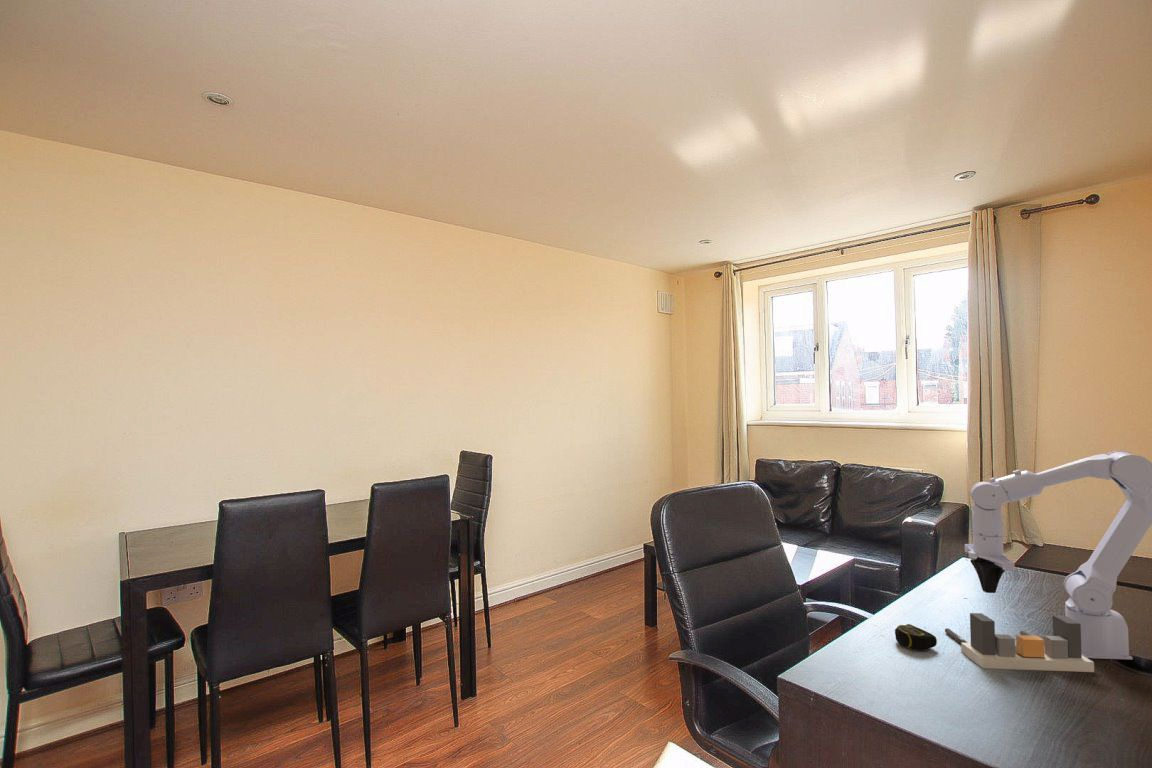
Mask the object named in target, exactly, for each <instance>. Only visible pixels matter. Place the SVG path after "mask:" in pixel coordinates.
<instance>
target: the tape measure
mask: <svg viewBox="0 0 1152 768" xmlns="http://www.w3.org/2000/svg"><path fill="white" fill-rule="evenodd" d="M894 635H895V640H896V642H897V643H898V644H900V645H901V646H903V647H905V648H908V649H911V650H915V651H927V650H929V649H932V648H934V647H936V646H937V645H938V644H937V643H938V642H937V641H938V639H937V636H935V635H934V634H932V633H930V632H928V631H927V630H924V629H921V628H919V627H917V626H915V625H913V624H910V623H908V624H899V625H897V627H896V628H895V629H894Z"/></svg>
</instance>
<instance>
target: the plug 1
mask: <svg viewBox="0 0 1152 768" xmlns="http://www.w3.org/2000/svg"><path fill="white" fill-rule="evenodd" d="M995 622H996V621H995V620H993V619H991V618H990V617H989V616H987V615H985V614H984V613H980V612H979V613H978V612H976V613H975V612H970V613H969V624H970V625H969V626H970V631H969V632H970V643H971V646H972V647H973V648H974V649H976V650H977V651H978V652H980V653H981V654H983V655H995V634H996V623H995Z"/></svg>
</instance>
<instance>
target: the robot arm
mask: <svg viewBox="0 0 1152 768" xmlns="http://www.w3.org/2000/svg"><path fill="white" fill-rule="evenodd" d="M1089 477H1090V478H1096V479H1102V480H1103V479H1104V480H1109V481H1110V480H1112V481H1114V483H1116V485H1118V488H1119V489H1120V490H1121V492H1122V493H1123V495H1124V497H1125V498H1126V500H1125V501H1124V503H1123V505H1122V506H1121V508H1120V509H1119V511H1118V513H1117V514H1116V516H1115V517H1114V519H1113V520H1112V522H1111V524H1109V525H1110V526H1109V527H1108V528H1107V530H1106V531H1105V533H1104V535H1103V536H1102V537H1101V539H1100V540H1099V543H1098V544H1097V546H1096V547H1095V548H1094V550H1093V552H1092V553H1091V555H1090V556H1089V558H1088V560H1087V561H1086V562H1084V563H1082V564H1081V565H1080V566H1078V568H1077V570H1076V571H1074V572H1072V573H1070V574H1068V575H1067V576H1066V577H1065V578H1064V580H1063V587H1064V590H1065V592H1066V593H1067V595H1069V597H1068V599H1067V600H1066V601H1065V602H1064V606H1065V607H1064V608H1065V609H1064V610H1065V616H1067V617H1068V618H1070V619H1072V620H1074V621H1076V622H1078V623H1080V624H1081V652H1082V656H1084V657H1086V658H1088V659H1103V660H1104V659H1105V660H1128V661H1129V660H1131V661H1132V660H1133V656H1131V655H1130V648H1129V647H1130V646H1129V643H1130V642H1129V627H1128V624H1127V622H1126V620H1125V618H1124V616H1123V615H1121V614H1120V612H1118V611H1116V610H1114V609H1112V607H1113V595H1114V593H1115V591H1116V589H1117V582H1118V580H1117V579H1118V577H1119V574H1121V571H1122V570H1123V569H1124V567H1125V566H1126V564H1127V563H1128V561H1129V559H1130V558H1131V557H1132V555H1133V553H1134V552H1135V550H1136V549H1137V547H1138V546H1139V544H1140V542H1141V541H1142V540H1143V538H1144V537H1145V535H1146V533H1147V532H1148V530H1149V529H1150V527H1151V526H1152V461H1150V460H1149V459H1148V458H1146V457H1144V456H1141V455H1137V454H1133V453H1132V452H1128V451H1126V450H1113V451H1110V452H1108V453H1107V454H1106V453H1102V454H1101V453H1098V454H1096V455H1091V456H1087V457H1084V458H1081V459H1077V460H1074V461H1071V462H1068V463H1065V464H1063V465H1059V466H1056V467H1053V468H1049V469H1046V470H1043V471H1039V472H1037V473H1035V472H1033V471H1029V470H1022V471H1021V470H1020V469H1016V470H1013V471H1012V474H1009V475H1005V476H1002V477H998V478H995V477H991V478H989V481H990V482H989V481H979V482H976V483H975V484H974V485H973V486H972V488H971V489H970V492H969V496H970V498H971V499H972V501H973V502H972V506H971V509H972V513H971V522H972V523H971V525H972V526H971V528H972V529H971V530H972V544H971V543H965V544H964V552H965V553H967V554H968V555H969V556H972V557H976V558H970V563H971V565H972V566H973V568H974V570H975V571H976V574H977V577H978V579H979V582H980V586H981V589H982V592H984V593H987V594H996V593H997V589H998V587H999V582H1000V580H1001V578H1002V576H1003V574H1004V573H1005V572H1008V571H1010V572H1014V571H1015V569H1016V567H1015V562H1014V561H1012V560H1011V559H1010V558H1009V557H1008V556H1006V555H1005V554H1004V528H1003V527H1004V526H1003V515H1002V506H1003V505H1004V503H1008V504H1009V503H1012V502H1016V501H1017V502H1018V501H1021V500H1024V499H1028V498H1031V497H1036V496H1039V495H1041V493H1042V492H1043V490H1044V488H1046V487H1050V486H1054V485H1058V484H1063V483H1067V482H1071V481H1075V480H1079V479H1080V480H1081V479H1084V478H1089Z"/></svg>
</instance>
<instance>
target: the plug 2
mask: <svg viewBox="0 0 1152 768" xmlns="http://www.w3.org/2000/svg"><path fill="white" fill-rule="evenodd" d="M1052 636H1060V637H1062V638H1064V639H1066V640H1068V658H1082V652H1081V624H1080V623H1078V622H1076V621H1074V620H1072V619H1070V618H1068V617H1067V616H1066V615H1059V614H1057V615H1055V614H1053V615H1052Z"/></svg>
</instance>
